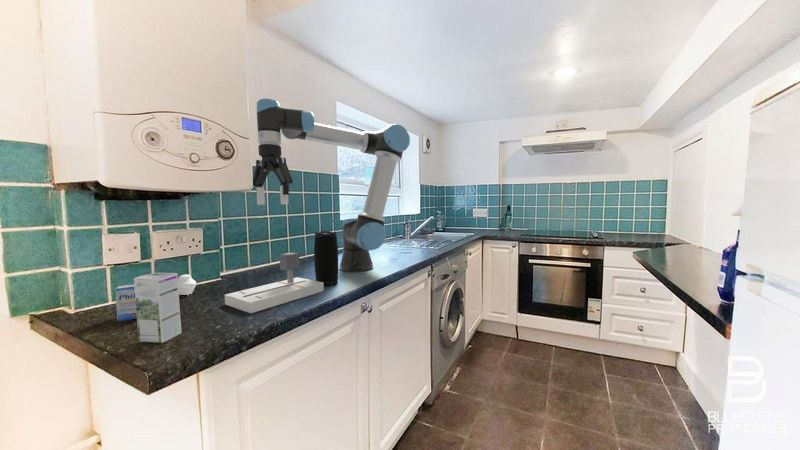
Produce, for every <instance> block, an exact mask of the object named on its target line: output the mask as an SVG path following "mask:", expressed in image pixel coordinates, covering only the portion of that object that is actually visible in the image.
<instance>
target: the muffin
mask: <svg viewBox="0 0 800 450" xmlns="http://www.w3.org/2000/svg"><path fill="white" fill-rule="evenodd" d="M196 285H197V281H196V280H195V279H193V277H192V275H190V274H185V273H184V274H182V275H179V276H178V290H179V296H180V295H187V296H190V295H189V294H191V295H192V294H193V292H194V290H195V288H196Z"/></svg>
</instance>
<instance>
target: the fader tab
mask: <svg viewBox="0 0 800 450" xmlns="http://www.w3.org/2000/svg"><path fill="white" fill-rule="evenodd" d="M300 265H301V263H300V253H299V252H293V251H292V252H285V253H280V254H279V267H280V268H279V269H280V271H286V275H287V279H286V280H287V283H289V284H291V283H294V278H295V277H294V270H297V269H300V267H301V266H300Z"/></svg>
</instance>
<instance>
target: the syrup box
mask: <svg viewBox="0 0 800 450" xmlns="http://www.w3.org/2000/svg"><path fill="white" fill-rule="evenodd" d="M178 278H179V276H178V273H177V272H152V273H146V274H144V275H139V276H137V277H134V278H133V284H134V289H135V301H136V314H137V318H136V322H137V334H138V335H137V338H138V339H137V340H138V343H149V344H154V343H155V344H163V343H165V342H167V341H170V340H172V339H174V338H175V337H176V336H179V335H180V334H181V335H182V321H181V308H180V307H181V306H180V295H179V290H178Z"/></svg>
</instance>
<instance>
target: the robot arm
mask: <svg viewBox="0 0 800 450" xmlns="http://www.w3.org/2000/svg"><path fill="white" fill-rule="evenodd" d="M256 121H257V124H256V125H257V141H258V142H257V143H258V144H259V145H258V155H259V156H260V157H261V159H256V160H255V168H254V173H253V178H252V181H253V185H252V187H253V186H254V187H255V191H256V192H255V193H256V205H258V206H261V205H262V206H263V205H264V206H266V199H265V198H266V197H265V196H266V195H265V194H266V193H265V186H264V184H265V182H266V179H267V177H268V175H269V174H270V173H271V172H273V173H274V174H275V176H276V177H277V179H278V181H279V182H280V184H279V193H280V195H279V197H280V205H289V195H290V189H289V188H290V187H289V186H290V185H291V184H293V182H294V181H293V177H292V175H291V173H290V170H289V167H288V165H287V158H286V157H283V156H282V147H281V145H282V136H281V134H282V135H283V137H284V138H286V139H287V140H296V139H298V140H304V141H310V142H314V143H315V142H316V143H322V144H325V145H326V144H327V145H331V146H338V147H343V148H347V149H354V150H359V151H360V153H364V154H367V155H368V154H369V155H374V156H375V157H376V160H375V164H374V169H373V173H372V176H371V178H370V179H371V180H370V182H369V183H370V184H369V186H368V191H367V194H366V199H365V201H364V207H363V211H362V212H360V213H359V214H358V215H357V217H354V218H346V219H343V221H342V246H343V247H342V248H343V251H342V255H341V259H340V263H339V269H340V271H343V272H344V271H345V272H366V271H369V270H372V269H373V268H374V266H373V265H374V262H373V261H372V257H371V254H370V251H375V250H377V249H379V248H380V247H381V246H382V245H384V243H385V241H386V237H387V235H386V230H385V223H386V220H385V218H384V217H383V216H384V213H385V210H386V209H385V208H386V204H387V201H388V197H389V193H390V189H391V185H392V182H393V177H394V174H395V169H396V165H397V164H398V163H399V162H401V161H402V157H403V153H404V151H406V150H407V149H408V148H409V146H410V143H411V139H410V137H411V136H410V134H409V133H408V130H407V128H405V127H404V126H403V125H401V124H399V123H393V124H388V125H386V127H384V128H381V129H379V130H377V131H376V130H375V131H367V130H364V131H363V132H359V131H356V130H355V131H354V130H350V129H346V128H341V127H335V126H331V125H327V124H326V125H325V124H323V123H322V124H321V123H317V122H315V115H314V113H313V112H312V111H308V110H304V109H302V110H301V109H293V108H285V107H284V108H283V107H281V105H280V102H279V101H278V100H275V99H272V98H260V99H259V100H257V102H256Z"/></svg>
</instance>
